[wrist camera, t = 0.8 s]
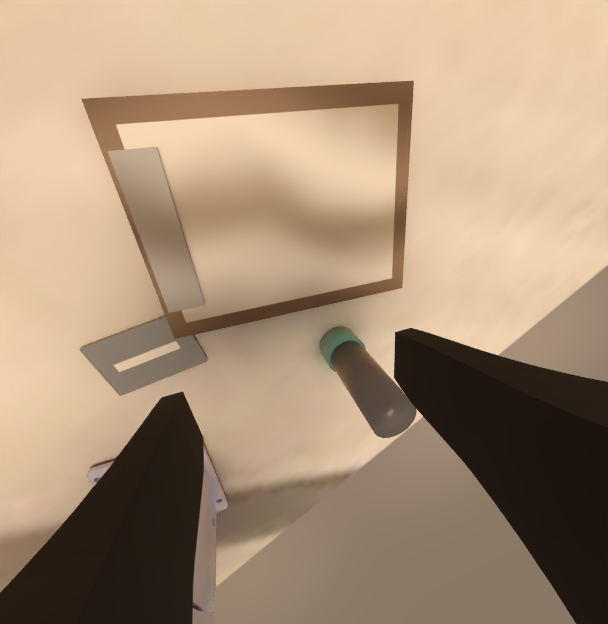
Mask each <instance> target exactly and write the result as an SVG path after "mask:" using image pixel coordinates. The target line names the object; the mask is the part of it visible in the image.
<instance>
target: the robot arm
mask: <svg viewBox="0 0 608 624" xmlns="http://www.w3.org/2000/svg"><path fill="white" fill-rule="evenodd" d="M394 378H395V380H396V381H397V383H398V384H399V386H400V387H401V389H402V390H403V392H404V393H405V395H406V396H407V397H408V399H409V400H410V402H411V403H412V404H413V405H414V406H415V408H416V409H417V410H418V411H419V412H420V413H421V414H422V415H423V417H424V418H425V419H426V420H427V421H428V422H429V423H430V424H431V426H432V427H433V428H434V429H435V430H436V431H437V432H438V433H439V434H440V436H441V437H442V438H443V439H444V440H445V441H446V442H447V444H448V445H449V446H450V447H451V448H452V449H453V450H454V451H455V452H456V454H457V455H458V456H459V457H460V458H461V459H462V461H463V462H464V463H465V464H466V465H467V467H468V468H469V469H470V470H471V472H472V473H473V474H474V476H475V477H476V478H477V480H478V481H479V482H480V483H481V485H482V486H483V488H484V489H485V490H486V492H487V493H488V494H489V496H490V497H491V498H492V500H493V501H494V502H495V504H496V505H497V507H498V508H499V509H500V511H501V512H502V514H503V515H504V516H505V518H506V519H507V521H508V522H509V523H510V525H511V526H512V528H513V529H514V530H515V532H516V533H517V535H518V536H519V537H520V539H521V540H522V542H523V543H524V545H525V546H526V548H527V549H528V551H529V552H530V554H531V555H532V556H533V558H534V560H535V561H536V563H537V564H538V566H539V567H540V569H541V570H542V571H543V573H544V574H545V576H546V577H547V579H548V580H549V582H550V583H551V584H552V586H553V588H554V589H555V591H556V592H557V594H558V595H559V597H560V599H561V600H562V602H563V604H564V605H565V607H566V608H567V610H568V611H569V613H570V615H571V616H572V618H573V619H574V621H575V622H576V624H608V382H605V381H600V380H595V379H590V378H585V377H580V376H575V375H571V374H567V373H562V372H558V371H554V370H549V369H545V368H541V367H537V366H533V365H529V364H526V363H522V362H519V361H515V360H511V359H508V358H505V357H501V356H498V355H494V354H491V353H488V352H485V351H482V350H479V349H475V348H472V347H469V346H466V345H463V344H460V343H457V342H454V341H451V340H448V339H445V338H442V337H439V336H436V335H433V334H430V333H427V332H424V331H420V330H417V329H413V328H409V329H405V330H402V331H398V332H395V364H394ZM87 478H88V479H89V480H90V481H91V483H92V484H93V485H94V487H93V488H92V489H91V491H90V492H89V493H88V494H87V496H86V497H85V498H84V499H83V501H82V502H81V503H80V504H79V505H78V507H77V508H76V509H75V510H74V512H73V513H72V514H71V515H70V516H69V517H68V519H67V520H66V521H65V522H64V523H63V524H62V526H61V527H60V528H59V529H58V530H57V531H56V532H55V534H54V535H53V536H52V537H51V538H50V539H49V540H48V542H47V543H46V544H45V545H44V546H43V547H42V548H41V549H40V550H39V551H38V553H37V554H36V555H35V556H34V557H33V558H32V559H31V560H30V561H29V562H28V564H27V565H26V566H25V567H24V568H23V569H22V570H21V571H20V572H19V573H18V574H17V576H16V577H15V578H14V579H13V580H12V581H11V582H10V583H9V584H8V585H7V586H6V587H5V588H4V589H3V590H2V591H1V592H0V624H215V612H214V611H212V612H211V609H212V605H213V601H214V596H215V586H216V532H217V512H219V511H221V510H224V509H226V508H227V506H228V502H227V499H226V497H225V494H224V492H223V489H222V487H221V485H220V482H219V480H218V477H217V475H216V473H215V470H214V468H213V466H212V463H211V461H210V458H209V456H208V454H207V451H206V449H205V446H204V444H203V436H202V434H201V432H200V429H199V427H198V425H197V422H196V420H195V418H194V416H193V413H192V411H191V409H190V407H189V404H188V402H187V400H186V398H185V395H184V393H183V392H180V393H176V394H173V395H169V396H166V397H162V398H161V399H160V400H159V402H158V403H157V404H156V406H155V407H154V408H153V410H152V411H151V412H150V414H149V415H148V416H147V418H146V419H145V421H144V422H143V423H142V425H141V426H140V427H139V429H138V430H137V431H136V433H135V434H134V436H133V437H132V438H131V440H130V441H129V442H128V444H127V445H126V446H125V447H124V449H123V450H122V451H121V453H120V454H119V455H118V457H117V458H116V459H115V461H112V462H109V463H106V464H102V465H99V466H96V467H93V468H91V469H90V470H89V471H88V474H87Z"/></svg>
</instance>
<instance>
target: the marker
mask: <svg viewBox="0 0 608 624" xmlns="http://www.w3.org/2000/svg"><path fill="white" fill-rule="evenodd" d="M320 350H321V353H322V355H323V356H324V358H325V360H326V361H327V363H328V364H329V366H330V368H331V369H332V370H334V371H336V372H337V374H338V375H339V377H340V379H341V380H342V382H343V383H344V385H345V387H346V388H347V390H348V391H349V393H350V395H351V396H352V398H353V399H354V401H355V403H356V404H357V406H358V407H359V409H360V411H361V412H362V414H363V415H364V417H365V418H366V420H367V422H368V423H369V425H370V426H371V428H372V430H373V431H374V433H375V434H376V435H377V436H379V437H382V438H389V437H393V436H396V435H398V434H400V433H402V432H403V431H405V430H406V429H407V428H408V427H409V426H410V425H411V423H412V422H413V420H414V419H415V416H416V408H415V406H414V405H413V404H412V403H411V402H410V400H409V399H408V397H407V396H406V395H405V394H404V393H403V391H402V390H401V389H400V388H399V387H398V386H397V385H396V384H395V382H394V381H393V380H392V379H391V378H390V377H389V376H388V375H387V374H386V372H385V371H384V370H383V369H382V368H381V367H380V366H379V365H378V363H377V362H376V361H375V360H374V359H373V358H372V357H371V356H370V355H369V353H368V352H367V351H366V349H365V346H364V344H363V343H362V342H361V340H360V339H359V338H358V337H357V336H356V335H355V334H354V333H353V332H352V331H351V330H350V329H349V328H346V327H336V328H333V329H331V330H330V331H328V332H327V333H326V334H325V335H324V336H323V338H322V340H321V343H320Z"/></svg>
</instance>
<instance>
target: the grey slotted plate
mask: <svg viewBox="0 0 608 624" xmlns="http://www.w3.org/2000/svg"><path fill="white" fill-rule="evenodd" d="M80 351H81V352H82V353H83V354H84V355H85V357H86V358H87V359H88V360H89V361H90V362H91V363H92V365H93V366H94V367H95V368H96V369H97V370H98V371H99V373H100V374H101V375H102V376H103V377H104V378H105V379H106V381H107V382H108V383H109V384H110V385H111V386H112V387H113V389H114V390H115V391H116V392H117V393H118V394H119V395H120V396H121V395H124V394H126V393H129V392H131V391H134V390H136V389H139V388H141V387H144V386H146V385H149V384H151V383H154V382H156V381H159V380H161V379H164V378H166V377H169V376H171V375H174V374H176V373H179V372H181V371H183V370H186V369H188V368H191V367H193V366H196V365H198V364H201V363H203V362H206V361H207V357H206V355H205V353H204V352H203V350H202V348H201V347H200V345H199V343H198V342H197V340H196V338H195V337H194V335H190V336H186V337H181V338H177V339H174V336H173V334H172V331H171V328H170V326H169V323H168V321H167V318H166V315H165V316H163V317H160V318H157V319H155V320H152V321H149V322H147V323H144V324H141V325H139V326H136V327H134V328H131V329H128V330H126V331H123V332H120V333H118V334H115V335H112V336H110V337H107V338H104V339H102V340H99V341H96V342H94V343H91V344H88V345H86V346H83V347H81V348H80Z"/></svg>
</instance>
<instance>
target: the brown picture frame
mask: <svg viewBox="0 0 608 624" xmlns="http://www.w3.org/2000/svg"><path fill="white" fill-rule="evenodd" d="M413 85H414V81H400V82H382V83H364V84H345V85H327V86H309V87H291V88H272V89H254V90H236V91H218V92H199V93H181V94H163V95H145V96H126V97H108V98H90V99H82V102H83V104H84V107H85V109H86V112H87V115H88V117H89V120H90V122H91V125H92V127H93V130H94V133H95V135H96V138H97V140H98V143H99V146H100V148H101V151H102V153H103V156H104V158H105V161H106V164H107V166H108V169H109V171H110V174H111V176H112V179H113V182H114V184H115V187H116V189H117V192H118V194H119V197H120V200H121V202H122V205H123V207H124V210H125V212H126V215H127V218H128V220H129V223H130V225H131V228H132V230H133V233H134V236H135V238H136V241H137V243H138V246H139V249H140V251H141V254H142V256H143V259H144V261H145V264H146V267H147V269H148V272H149V274H150V277H151V279H152V282H153V285H154V287H155V290H156V292H157V295H158V297H159V300H160V303H161V305H162V308H163V310H164V313H165V315H166V318H167V321H168V323H169V326H170V328H171V331H172V334H173V336H174V339H177V338H181V337H186V336H190V335H194V334H199V333H203V332H208V331H212V330H217V329H221V328H226V327H230V326H234V325H239V324H243V323H248V322H252V321H257V320H261V319H266V318H270V317H274V316H279V315H283V314H288V313H292V312H297V311H301V310H305V309H310V308H314V307H319V306H323V305H328V304H332V303H337V302H341V301H345V300H350V299H354V298H359V297H363V296H368V295H372V294H377V293H381V292H385V291H390V290H394V289H399V288H402V280H403V263H404V245H405V227H406V209H407V191H408V174H409V156H410V138H411V120H412V102H413Z"/></svg>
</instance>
